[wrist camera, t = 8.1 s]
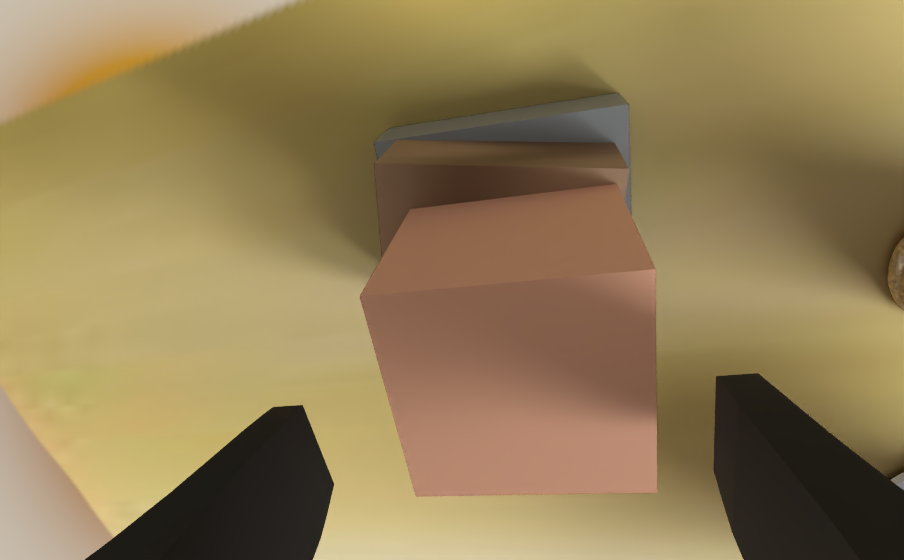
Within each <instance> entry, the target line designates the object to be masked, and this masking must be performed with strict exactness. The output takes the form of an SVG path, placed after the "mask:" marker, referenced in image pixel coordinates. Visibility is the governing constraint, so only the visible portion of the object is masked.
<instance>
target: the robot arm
mask: <svg viewBox="0 0 904 560" xmlns="http://www.w3.org/2000/svg"><path fill="white" fill-rule="evenodd" d="M714 473H715V476H716V480H717V483H718V487H719V490H720V494H721V497H722V501H723V504H724V507H725V510H726V514H727V517H728V520H729V523H730V527H731V530H732V533H733V535H734V538H735V540H736V542H737V545H738V547H739V550H740V552H741V554H742V557H743V559H744V560H904V472H903V473H901V474H899V475H897V476H896V477H894V478H892V479H891V480H890V479H888V478H887V477H886V476H884V475H883V474H882V473H880V472H879V471H878V470H877V469H875V468H874V467H873V466H871V465H870V464H869V463H868V462H866V461H865V460H864V459H862V458H861V457H860V456H858V455H857V454H856V453H855V452H853V451H852V450H851V449H849V448H848V447H847V446H846V445H844V444H843V443H842V442H841V441H839V440H838V439H837V438H836V437H834V436H833V435H832V434H831V433H829V432H828V431H827V430H826V429H825V428H823V427H822V426H821V425H820V424H818V423H817V422H816V421H815V420H814V419H812V418H811V417H810V416H809V415H807V414H806V413H805V412H804V411H803V410H801V409H800V408H799V407H798V406H797V405H795V404H794V403H793V402H792V401H791V400H789V399H788V398H787V397H786V396H785V395H784V394H782V393H781V392H780V391H779V390H778V389H776V388H775V387H774V386H773V385H771V384H770V383H769V382H768V381H767V380H765V379H764V378H763V377H762V376H760V375H759V374H758V373H757V374H742V375H728V376H716V400H715V438H714ZM333 486H334V483H333V480H332V478H331V475H330V473H329V470H328V468H327V465H326V463H325V460H324V458H323V455H322V453H321V450H320V448H319V445H318V443H317V440H316V438H315V435H314V433H313V430H312V428H311V425H310V423H309V420H308V418H307V415H306V413H305V410H304V408H303V405H298V406H283V407H273V408H271V409H270V410H269V411H267V412H266V413H265V414H263V415H262V416H261V417H260V418H258V419H257V420H256V421H255V422H253V423H252V424H251V425H250V426H248V427H247V428H246V429H245V430H244V431H242V432H241V433H240V434H239V435H238V436H237V437H235V438H234V439H233V440H232V441H231V442H229V443H228V444H227V445H226V446H225V447H224V448H222V449H221V450H220V451H219V452H218V453H217V454H215V455H214V456H213V457H212V458H211V459H210V460H208V461H207V462H206V463H205V464H204V465H203V466H201V467H200V468H199V469H198V470H197V471H195V472H194V473H193V474H192V475H191V476H190V477H188V478H187V479H186V480H185V481H184V482H182V483H181V484H180V485H179V486H178V487H177V488H175V489H174V490H173V491H172V492H171V493H169V494H168V495H167V496H166V497H164V498H163V499H162V500H161V501H159V502H158V503H157V504H156V505H154V506H153V507H152V508H151V509H149V510H148V511H147V512H146V513H144V514H143V515H142V516H141V517H139V518H138V519H137V520H136V521H134V522H133V523H132V524H131V525H129V526H128V527H127V528H126V529H124V530H123V531H122V532H121V533H119V534H118V535H117V536H116V537H114V538H113V539H112V540H111V541H109V542H108V543H107V544H105V545H104V546H103V547H101V548H100V549H99V550H97V551H96V552H95V553H93V554H92V555H90V556H89V557H88V558H86V559H85V560H313V557H314V555H315V552H316V549H317V547H318V544H319V541H320V538H321V535H322V531H323V527H324V524H325V520H326V516H327V512H328V508H329V504H330V499H331V495H332V491H333Z"/></svg>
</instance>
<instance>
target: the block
mask: <svg viewBox="0 0 904 560" xmlns="http://www.w3.org/2000/svg"><path fill="white" fill-rule="evenodd" d="M360 300H361V303H362V307H363V310H364V314H365V317H366V321H367V324H368V328H369V332H370V335H371V339H372V342H373V346H374V349H375V353H376V356H377V360H378V363H379V367H380V371H381V374H382V378H383V381H384V385H385V388H386V392H387V395H388V399H389V402H390V406H391V410H392V413H393V417H394V420H395V424H396V427H397V431H398V434H399V438H400V441H401V445H402V449H403V452H404V456H405V459H406V463H407V466H408V470H409V473H410V477H411V480H412V484H413V488H414V491H415V495H416V496H475V495H537V494H599V493H657V394H656V269H655V267H654V265H653V262H652V260H651V258H650V256H649V254H648V251H647V249H646V247H645V245H644V243H643V240H642V238H641V236H640V234H639V232H638V229H637V227H636V225H635V223H634V221H633V218H632V216H631V214H630V212H629V210H628V207H627V205H626V203H625V201H624V198H623V196H622V194H621V192H620V190H619V187H618V185H617V184H611V185H603V186H595V187H587V188H579V189H571V190H563V191H554V192H546V193H538V194H530V195H522V196H514V197H506V198H498V199H490V200H481V201H473V202H465V203H457V204H449V205H441V206H433V207H425V208H417V209H410V210H409V212H408V214H407V216H406V217H405V219H404V221H403V222H402V224H401V226H400V228H399V229H398V231H397V233H396V235H395V236H394V238H393V240H392V241H391V243H390V245H389V247H388V248H387V250H386V252H385V254H384V255H383V257H382V259H381V260H380V262H379V264H378V266H377V267H376V269H375V271H374V273H373V274H372V276H371V278H370V279H369V281H368V283H367V285H366V286H365V288H364V290H363V292H362V293H361V295H360Z"/></svg>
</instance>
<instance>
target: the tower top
mask: <svg viewBox="0 0 904 560" xmlns="http://www.w3.org/2000/svg"><path fill="white" fill-rule="evenodd" d="M374 169H375V181H376V193H377V205H378V217H379V229H380V241H381V253H382V257H383V255H384V254H385V252H386V250H387V248H388V247H389V245H390V243H391V241H392V240H393V238H394V236H395V235H396V233H397V231H398V229H399V228H400V226H401V224H402V222H403V221H404V219H405V217H406V216H407V214H408V212H409V210H410V209H417V208H425V207H433V206H441V205H449V204H457V203H465V202H473V201H481V200H490V199H498V198H506V197H514V196H522V195H530V194H538V193H546V192H554V191H563V190H571V189H579V188H587V187H595V186H603V185H611V184H617V185H618V187H619V190H620V192H621V194H622V196H623V198H624V201H625V195H626V188H627V181H628V174H629V168H628V166H627V164H626V162H625V160H624V159H623V157H622V155H621V153H620V152H619V150H618V148H617V146H616V144H615V143H589V142H522V141H455V140H396V141H395V142H394V143H393V144H392V145H391V146H390V147H389V148H388V149H387V150H386V151H385V152H384V153H383V155H382V156H381V157H380V158H379V159H378V160H377V161H376V162H375V163H374Z"/></svg>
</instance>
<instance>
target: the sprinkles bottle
mask: <svg viewBox="0 0 904 560" xmlns="http://www.w3.org/2000/svg"><path fill="white" fill-rule="evenodd" d="M888 269H889V273H888V277H887V279H888V286H889V288H890V292H891V296H892V297H893V299H894V301H895V302H896V303H897V305H899V306H900V307H901V308H902V309H903V310H904V237H903V238H902V239H901V240H900V242H899V243H898V244H897V246H896V247H895V249H894V252H893V254H892V257H891V259H890V263H889V267H888Z"/></svg>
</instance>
